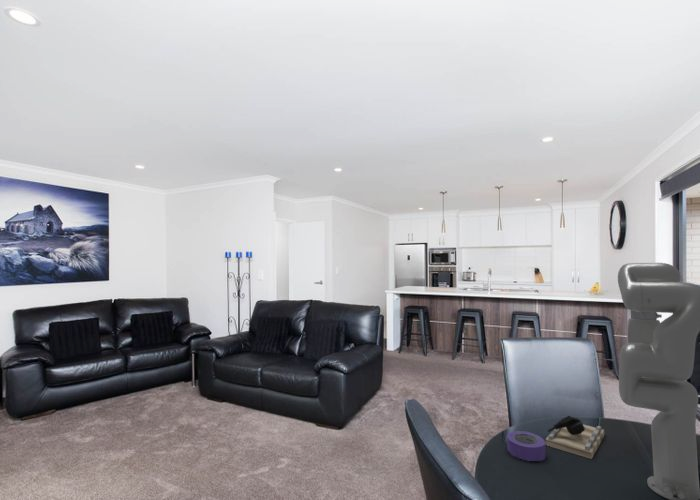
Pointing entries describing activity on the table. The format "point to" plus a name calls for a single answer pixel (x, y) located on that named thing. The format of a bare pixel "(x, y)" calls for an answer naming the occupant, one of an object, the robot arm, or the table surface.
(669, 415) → the robot arm
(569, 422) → the black tapered curved piece
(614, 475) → the table surface
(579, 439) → the board
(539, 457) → the tape roll
